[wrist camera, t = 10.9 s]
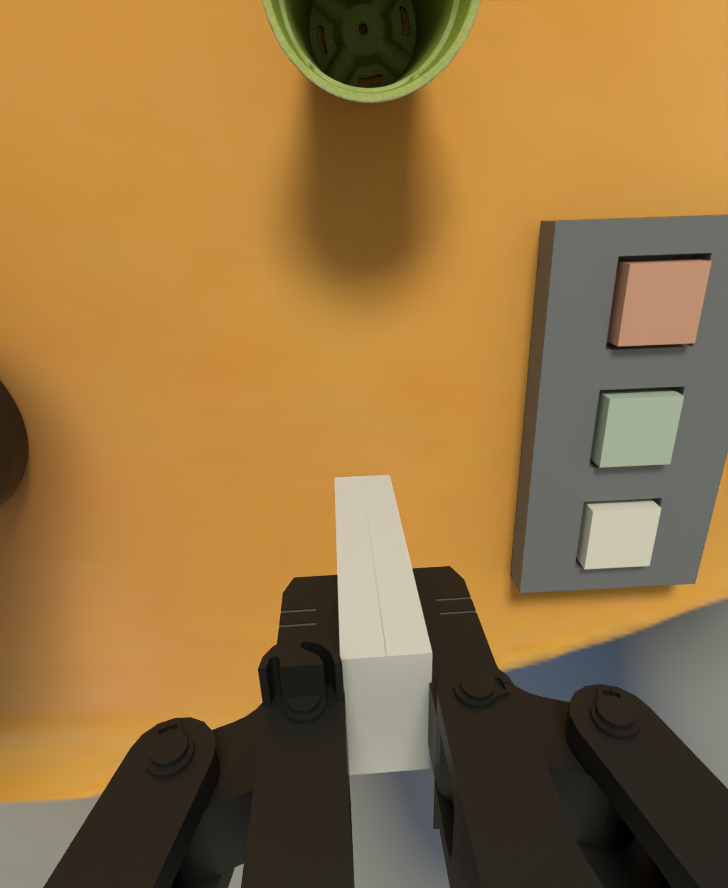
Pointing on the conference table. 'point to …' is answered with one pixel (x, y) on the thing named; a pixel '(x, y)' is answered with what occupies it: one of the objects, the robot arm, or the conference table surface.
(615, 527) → the cream button
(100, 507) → the conference table surface
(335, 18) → the plant pot
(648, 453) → the sage button
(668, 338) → the terracotta button
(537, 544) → the button board
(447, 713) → the robot arm
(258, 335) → the conference table surface
